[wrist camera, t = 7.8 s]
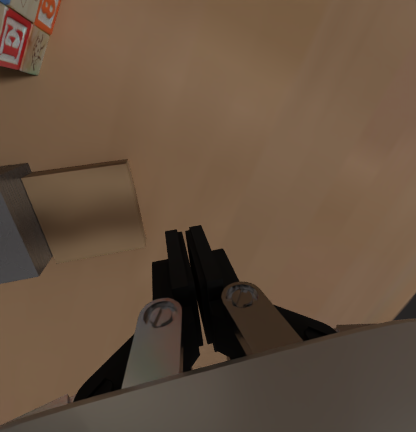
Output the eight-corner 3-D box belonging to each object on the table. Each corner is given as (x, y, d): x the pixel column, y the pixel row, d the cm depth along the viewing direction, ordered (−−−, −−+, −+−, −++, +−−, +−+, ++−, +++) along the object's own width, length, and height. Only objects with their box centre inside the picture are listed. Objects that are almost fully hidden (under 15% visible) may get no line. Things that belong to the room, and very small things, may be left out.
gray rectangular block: (-12, 168, 21) (-58, 184, 16) (27, 162, 21) (-7, 177, 17) (26, 251, 24) (-3, 284, 20) (60, 245, 24) (38, 276, 20)
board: (34, 171, 22) (20, 178, 20) (128, 158, 23) (125, 163, 21) (64, 250, 25) (56, 263, 23) (146, 235, 26) (145, 247, 24)
